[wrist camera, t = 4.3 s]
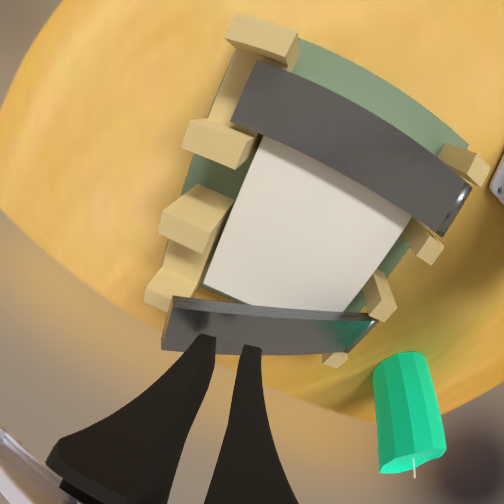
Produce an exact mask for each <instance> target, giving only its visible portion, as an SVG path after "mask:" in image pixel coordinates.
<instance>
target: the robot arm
mask: <svg viewBox="0 0 504 504" xmlns="http://www.w3.org/2000/svg"><path fill="white" fill-rule="evenodd" d="M498 189H499V192H498ZM490 190H491V192H492V193H493V194H494V195H495V196H496V197H497V198H498V199H499V201H500V202H501V203H502V204H503V205H504V154H503V156H502V159H501V161H500V163H499V165H498V167H497V170H496V172H495V174H494V176H493V178H492V180H491V182H490ZM216 338H217V337H214V336H210V335H206V334H202V333H201V334H199V335H198V336H197V337H196V339H195V340H194V341H193V343H192V344H191V345H190V346H189V348H188V349H187V350H186V351H185V352H184V353H183V355H182V356H181V357H180V358H179V359H178V360H177V361H176V362H175V363H174V364H173V365H172V366H171V367H170V368H169V369H168V370H167V371H166V372H165V374H164V375H162V376H161V377H160V378H159V379H158V380H157V381H156V382H155V383H153V384H152V385H151V386H150V387H149V388H148V389H147V390H146V391H144V392H143V393H142V394H140V395H139V396H138V397H137V398H135V399H134V400H132V401H131V402H130V403H128V404H127V405H126V406H124V407H122V408H121V409H120V410H118V411H116V412H115V413H113V414H112V415H110V416H108V417H106V418H105V419H103V420H101V421H99V422H97V423H95V424H93V425H91V426H89V427H88V428H85V429H83V430H81V431H78V432H76V433H73V434H71V435H68V436H66V437H63V438H61V439H59V441H58V442H57V443H56V445H55V446H54V447H53V449H52V451H51V453H50V454H49V456H48V458H47V460H46V462H45V463H46V464H45V463H43V462H42V461H41V460H39V459H38V458H37V457H36V456H34V455H33V454H32V453H31V452H29V451H28V450H27V449H26V448H25V447H24V446H23V444H22V443H21V442H20V441H19V440H17V438H16V437H15V436H13V435H12V434H11V433H10V432H9V431H8V430H7V429H6V428H4V427H3V426H1V425H0V491H1V493H2V494H3V495H4V496H5V497H6V499H7V500H8V501H9V503H10V504H77V502H79V503H80V504H167V502H168V498H169V494H170V490H171V487H172V483H173V480H174V476H175V473H176V469H177V466H178V463H179V459H180V456H181V453H182V450H183V447H184V444H185V441H186V438H187V435H188V433H189V430H190V428H191V426H192V424H193V421H194V419H195V417H196V414H197V412H198V410H199V408H200V406H201V403H202V401H203V399H204V396H205V394H206V392H207V389H208V386H209V383H210V380H211V377H212V373H213V370H214V365H215V351H216ZM261 355H262V349H261V348H260V347H255V346H251V345H246V344H244V346H243V349H242V352H241V356H240V359H239V364H238V369H237V375H236V380H235V385H234V391H233V396H232V402H231V409H230V415H229V421H228V426H227V429H226V433H225V436H224V440H223V443H222V446H221V450H220V454H219V457H218V460H217V463H216V467H215V470H214V473H213V477H212V480H211V483H210V486H209V489H208V493H207V496H206V499H205V502H204V504H299V503H298V501H297V499H296V498H295V496H294V493H293V491H292V489H291V487H290V485H289V483H288V480H287V478H286V475H285V473H284V471H283V468H282V465H281V463H280V460H279V457H278V454H277V451H276V448H275V445H274V442H273V438H272V435H271V431H270V426H269V422H268V417H267V413H266V407H265V401H264V396H263V387H262V374H261Z"/></svg>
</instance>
